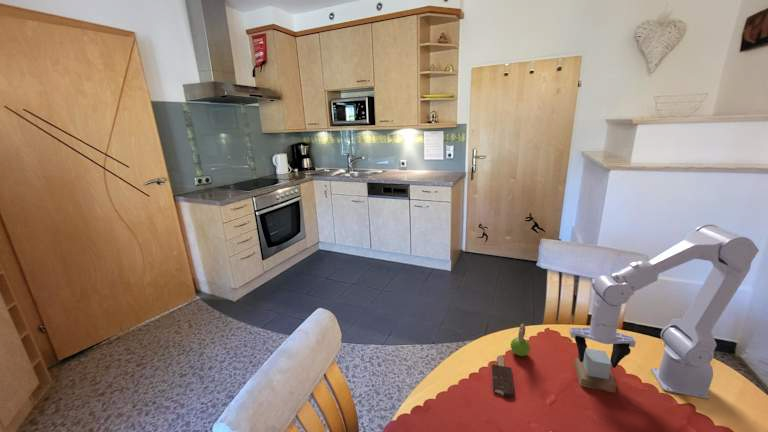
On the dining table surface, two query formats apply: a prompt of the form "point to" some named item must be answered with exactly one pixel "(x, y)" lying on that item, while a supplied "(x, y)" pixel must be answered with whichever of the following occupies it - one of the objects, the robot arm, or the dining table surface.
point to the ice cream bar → (502, 379)
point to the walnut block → (593, 379)
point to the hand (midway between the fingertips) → (596, 362)
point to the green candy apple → (520, 343)
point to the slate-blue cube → (597, 363)
